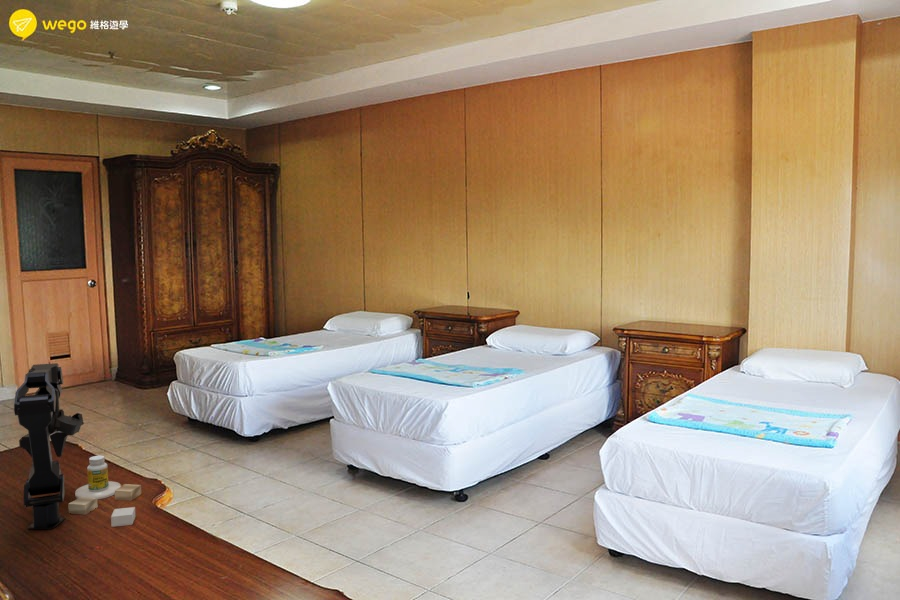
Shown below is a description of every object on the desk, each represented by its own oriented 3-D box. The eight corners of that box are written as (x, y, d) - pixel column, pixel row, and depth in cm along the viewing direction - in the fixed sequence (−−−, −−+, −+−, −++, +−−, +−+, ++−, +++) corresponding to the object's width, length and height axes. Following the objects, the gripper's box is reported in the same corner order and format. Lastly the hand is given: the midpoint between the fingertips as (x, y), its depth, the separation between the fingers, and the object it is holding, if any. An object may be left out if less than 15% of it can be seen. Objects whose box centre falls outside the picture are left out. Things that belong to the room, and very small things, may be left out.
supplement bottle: (105, 484, 203) (103, 453, 202) (111, 489, 199) (109, 457, 198) (85, 488, 200) (84, 457, 199) (91, 494, 196) (89, 461, 195)
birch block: (85, 515, 184) (84, 504, 184) (68, 514, 185) (68, 503, 185) (97, 508, 189) (97, 497, 189) (81, 506, 190) (80, 496, 189)
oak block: (131, 501, 194) (130, 491, 193) (115, 500, 194) (114, 490, 194) (141, 494, 199) (140, 485, 198) (125, 493, 199) (124, 484, 199)
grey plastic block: (132, 525, 178) (131, 514, 178) (111, 527, 177) (111, 516, 176) (135, 517, 183) (134, 507, 183) (115, 519, 181) (114, 509, 181)
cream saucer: (109, 500, 194) (109, 496, 194) (67, 500, 194) (66, 496, 193) (127, 484, 206) (127, 481, 206) (87, 484, 205) (87, 481, 205)
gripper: (59, 417, 180) (62, 473, 181) (93, 399, 198) (95, 451, 200) (16, 417, 179) (19, 474, 181) (54, 399, 198) (57, 451, 199)
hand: (50, 462), depth 190 cm, fingers open, 9 cm apart
